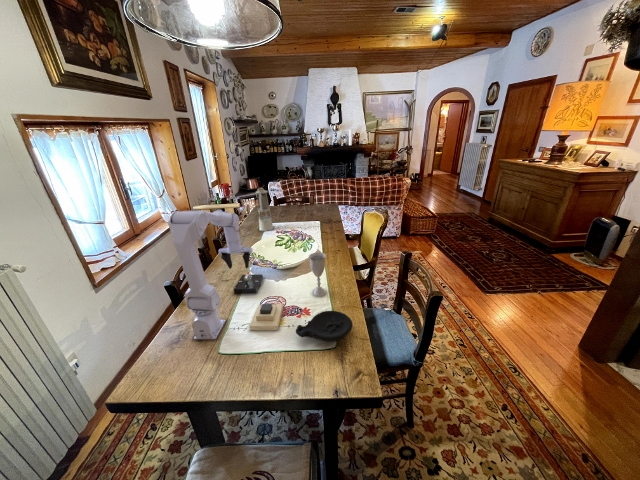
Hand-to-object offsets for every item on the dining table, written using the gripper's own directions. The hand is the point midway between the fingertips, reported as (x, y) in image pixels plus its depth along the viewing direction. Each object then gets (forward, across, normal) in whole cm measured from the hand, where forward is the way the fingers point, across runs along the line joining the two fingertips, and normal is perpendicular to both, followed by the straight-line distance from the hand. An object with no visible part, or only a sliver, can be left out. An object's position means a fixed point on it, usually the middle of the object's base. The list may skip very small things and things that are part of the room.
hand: (239, 267), depth 114 cm
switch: (+6, -17, +23) cm, 29 cm away
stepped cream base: (+10, -17, +23) cm, 30 cm away
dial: (+7, -3, +1) cm, 8 cm away
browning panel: (+10, -3, +1) cm, 10 cm away
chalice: (+10, -36, +7) cm, 38 cm away
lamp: (+10, +6, -72) cm, 72 cm away
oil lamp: (+10, -39, +31) cm, 51 cm away
